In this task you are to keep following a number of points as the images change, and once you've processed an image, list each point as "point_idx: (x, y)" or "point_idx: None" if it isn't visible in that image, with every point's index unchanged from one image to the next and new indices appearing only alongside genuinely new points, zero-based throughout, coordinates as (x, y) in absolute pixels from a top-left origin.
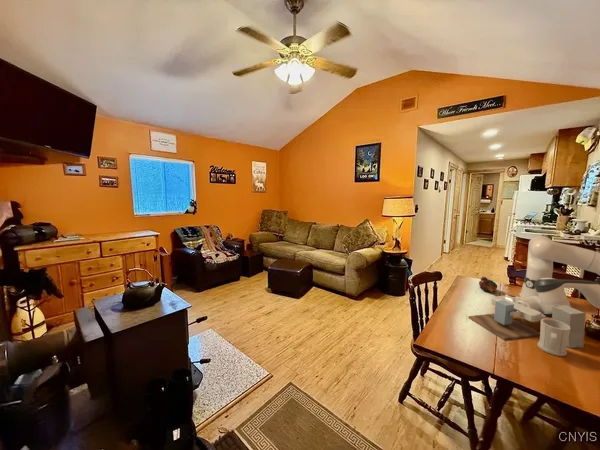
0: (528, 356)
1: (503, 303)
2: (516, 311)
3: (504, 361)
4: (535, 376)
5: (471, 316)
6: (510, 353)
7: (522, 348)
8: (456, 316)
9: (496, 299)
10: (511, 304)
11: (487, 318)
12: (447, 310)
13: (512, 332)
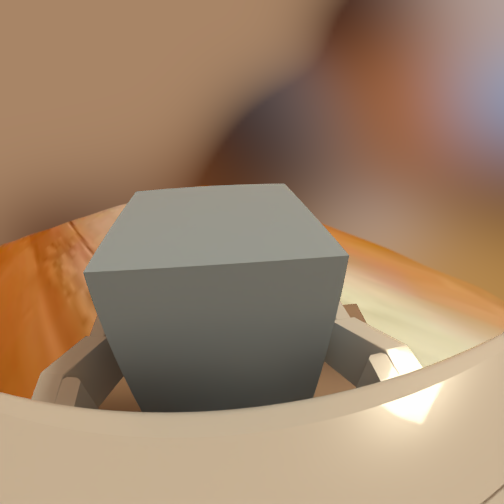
0: (19, 308)
1: (196, 196)
2: (80, 382)
3: (63, 248)
4: (6, 263)
5: (355, 314)
6: (61, 279)
7: (40, 331)
8: (361, 279)
9: (501, 345)
10: (111, 239)
11: (337, 388)
12: (416, 276)
13: (114, 395)
